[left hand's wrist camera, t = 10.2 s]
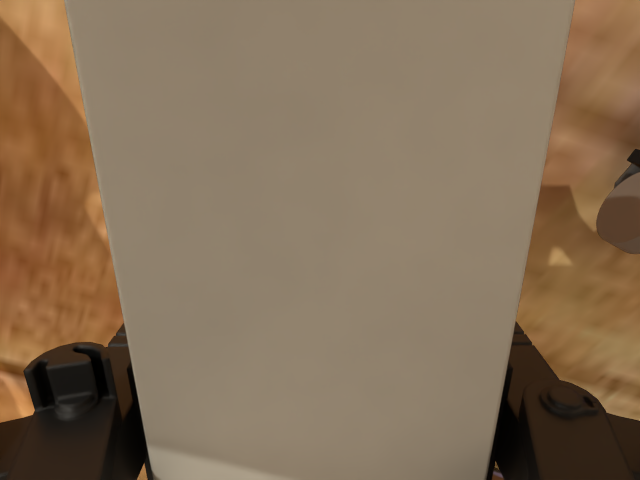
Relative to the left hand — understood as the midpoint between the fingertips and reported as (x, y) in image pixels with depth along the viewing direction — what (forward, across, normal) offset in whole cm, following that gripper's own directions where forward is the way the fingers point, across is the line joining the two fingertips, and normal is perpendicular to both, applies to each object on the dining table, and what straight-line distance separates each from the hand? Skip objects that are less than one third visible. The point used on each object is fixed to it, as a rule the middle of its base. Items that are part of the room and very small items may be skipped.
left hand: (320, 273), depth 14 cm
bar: (+1, 0, -8) cm, 8 cm away
